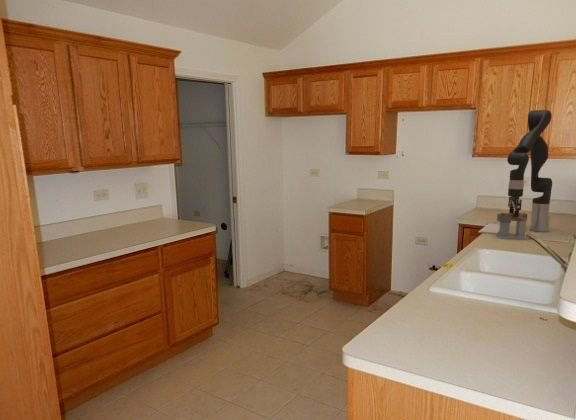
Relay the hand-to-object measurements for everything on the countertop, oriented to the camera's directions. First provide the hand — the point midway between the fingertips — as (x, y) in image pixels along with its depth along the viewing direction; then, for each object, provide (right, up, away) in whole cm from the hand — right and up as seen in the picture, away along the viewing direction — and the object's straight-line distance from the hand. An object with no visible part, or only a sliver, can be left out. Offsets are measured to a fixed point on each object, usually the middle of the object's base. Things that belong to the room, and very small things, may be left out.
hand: (513, 215), depth 237 cm
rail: (0, -3, 0) cm, 3 cm away
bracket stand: (0, -13, +2) cm, 13 cm away
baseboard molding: (0, -10, +27) cm, 29 cm away
